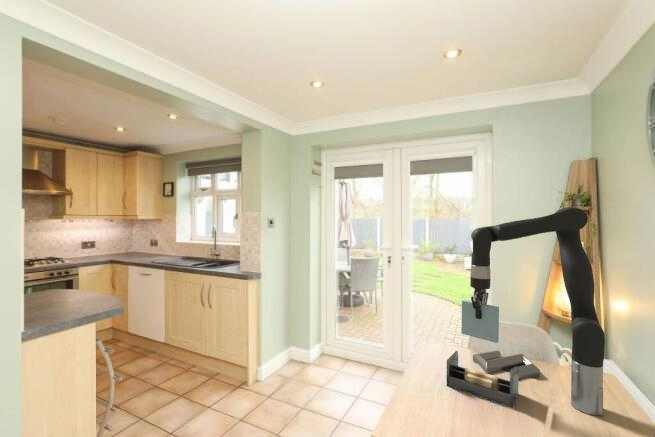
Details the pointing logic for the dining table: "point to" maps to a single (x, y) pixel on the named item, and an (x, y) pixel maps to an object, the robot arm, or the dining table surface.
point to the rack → (503, 395)
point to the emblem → (506, 364)
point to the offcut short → (479, 381)
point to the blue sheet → (480, 322)
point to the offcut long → (483, 375)
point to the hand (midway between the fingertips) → (479, 317)
